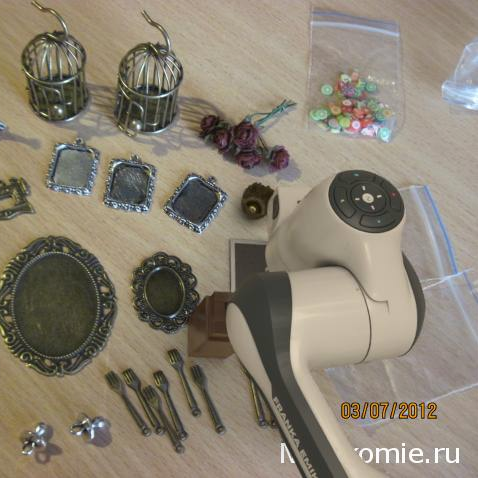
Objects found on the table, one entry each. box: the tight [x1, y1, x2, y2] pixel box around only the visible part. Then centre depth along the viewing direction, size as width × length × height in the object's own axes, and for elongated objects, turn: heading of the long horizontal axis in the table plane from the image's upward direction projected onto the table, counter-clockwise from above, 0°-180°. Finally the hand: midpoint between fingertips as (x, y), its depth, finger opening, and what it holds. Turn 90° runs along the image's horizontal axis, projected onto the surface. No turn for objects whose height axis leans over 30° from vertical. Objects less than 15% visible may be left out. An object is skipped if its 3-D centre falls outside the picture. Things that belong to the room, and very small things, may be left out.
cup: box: [240, 181, 275, 221], centre depth 121 cm, size 8×7×8 cm
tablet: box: [229, 238, 268, 292], centre depth 118 cm, size 22×16×1 cm
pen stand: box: [187, 290, 235, 360], centre depth 102 cm, size 8×8×25 cm
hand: (271, 285), depth 77 cm, fingers closed
